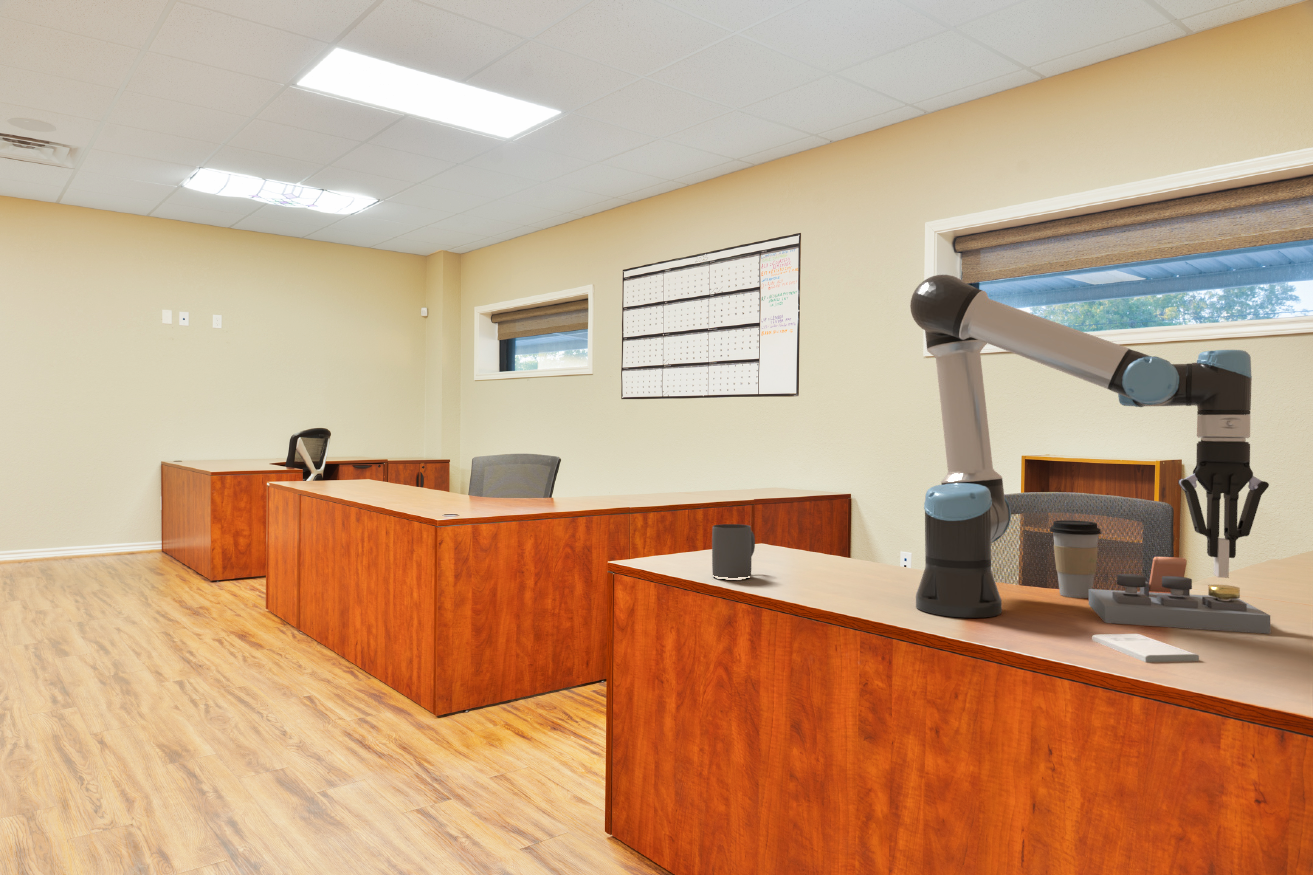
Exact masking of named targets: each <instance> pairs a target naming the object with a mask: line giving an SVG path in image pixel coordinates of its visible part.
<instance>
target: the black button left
mask: <svg viewBox="0 0 1313 875" xmlns="http://www.w3.org/2000/svg"><path fill="white" fill-rule="evenodd" d="M1146 579H1147V578H1146V576H1145V575H1139V574H1132V573H1119V574H1116V584H1117V585H1118V586H1122V587H1125V590H1124V591H1125V592H1127V593H1137V592H1138V588H1140V587H1146V582H1147V580H1146Z"/></svg>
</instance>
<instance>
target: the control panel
mask: <svg viewBox="0 0 1313 875" xmlns="http://www.w3.org/2000/svg"><path fill="white" fill-rule="evenodd" d="M1190 590H1191V589H1190ZM1190 590H1183V596H1175V595H1171V593H1169V592H1151V591H1149V582H1148V581H1146V587H1139V591H1137V593H1127V592H1125V590H1114V589H1099V588H1098V589H1095V588H1093V589H1089V598H1088V605H1089V607H1090V608H1092V610H1093V611H1094V612H1095V613H1096V614H1097V615H1098V617H1099V618H1101V619H1102V621H1103V622H1104V623H1107V624H1118V625H1119V624H1121V625H1134V626H1151V627H1165V628H1177V629H1178V628H1181V629H1194V630H1195V629H1197V630H1209V631H1211V630H1212V631H1227V632H1237V633H1238V632H1239V633H1256V634H1268V635H1269V634H1271V615H1270V614H1269V613H1267V612H1264V611H1263V610H1261V609H1259V608H1258V607H1255V606H1253V605H1252V604H1249V603H1248V602H1246V601H1244V600H1243V599H1240V598H1237V599H1230V602H1224V601H1218V597H1213V596H1209V595H1208V594H1192V593H1191V591H1190Z"/></svg>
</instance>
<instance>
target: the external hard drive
mask: <svg viewBox="0 0 1313 875" xmlns="http://www.w3.org/2000/svg"><path fill="white" fill-rule="evenodd" d="M1091 640H1092V642H1095V643H1098V644H1100V645H1102V646H1105V647H1107V648H1110V649H1113V650H1115V651H1117V652H1120V653H1122V654H1123V655H1127V656H1129V657H1131V658H1134V659H1136V660H1139V661H1141V662H1144V663H1174V662H1200V656H1199V654H1197V653H1194V652H1191V651H1188V650H1185V649H1182V648H1180V647H1177V646H1174V645H1171V644H1168V643H1165V642H1163V641H1160V640H1157V639H1154V638H1151V637H1147V636H1145V635H1144V634H1139V633H1111V634H1109V633H1108V634H1107V633H1106V634H1104V633H1103V634H1093V635H1092V637H1091Z"/></svg>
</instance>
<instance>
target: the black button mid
mask: <svg viewBox="0 0 1313 875" xmlns="http://www.w3.org/2000/svg"><path fill="white" fill-rule="evenodd" d="M1162 587H1164V588H1169V589H1171V595H1175V596H1183V590H1192V589H1193V579H1192V578H1190V577H1185V576H1184V577H1177V576H1163V577H1162Z"/></svg>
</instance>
